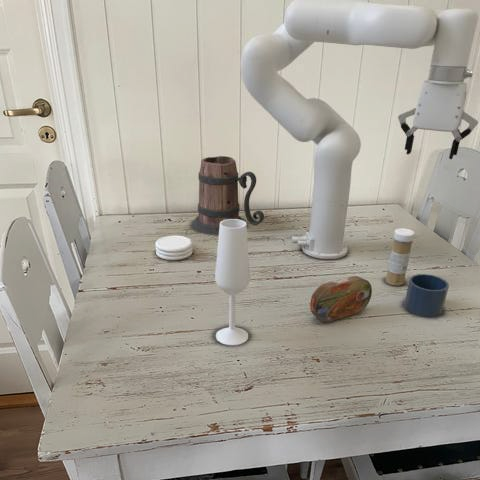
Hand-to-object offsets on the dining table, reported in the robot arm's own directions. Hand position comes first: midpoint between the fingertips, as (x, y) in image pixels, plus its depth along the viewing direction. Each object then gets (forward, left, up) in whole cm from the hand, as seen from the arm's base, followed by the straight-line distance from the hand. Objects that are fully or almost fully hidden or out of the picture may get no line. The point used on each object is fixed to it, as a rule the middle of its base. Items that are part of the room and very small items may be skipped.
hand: (429, 155), depth 116 cm
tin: (-25, -25, -28) cm, 45 cm away
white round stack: (-62, +10, -28) cm, 69 cm away
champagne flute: (-49, -32, -28) cm, 65 cm away
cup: (-5, -23, -28) cm, 37 cm away
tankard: (-46, +30, -28) cm, 62 cm away
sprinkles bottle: (-7, -10, -28) cm, 31 cm away
